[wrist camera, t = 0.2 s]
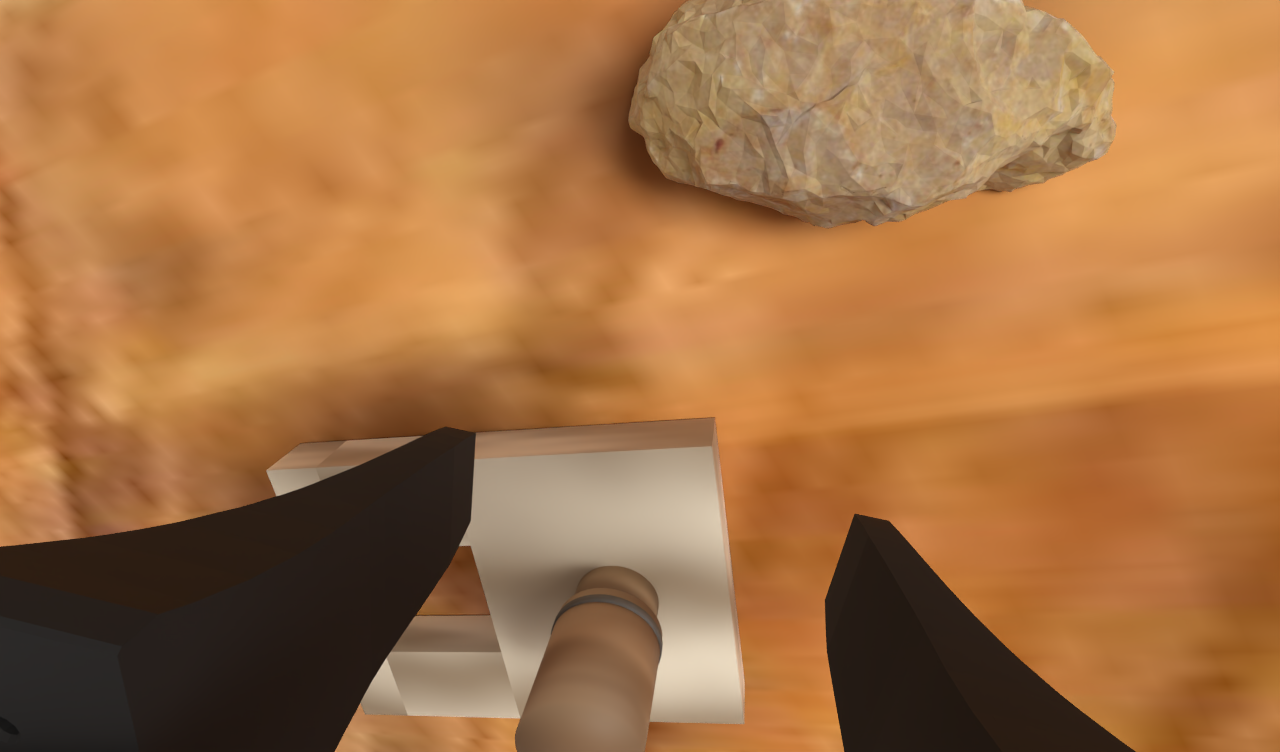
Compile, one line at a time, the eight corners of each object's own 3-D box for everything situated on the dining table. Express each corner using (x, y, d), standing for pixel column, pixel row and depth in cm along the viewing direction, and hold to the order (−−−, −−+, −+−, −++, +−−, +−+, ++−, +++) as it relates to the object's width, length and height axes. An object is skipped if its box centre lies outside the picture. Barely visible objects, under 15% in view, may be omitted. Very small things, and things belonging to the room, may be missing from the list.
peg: (674, 639, 24) (653, 800, 19) (576, 639, 25) (528, 794, 19) (661, 556, 23) (633, 703, 17) (558, 558, 23) (500, 700, 18)
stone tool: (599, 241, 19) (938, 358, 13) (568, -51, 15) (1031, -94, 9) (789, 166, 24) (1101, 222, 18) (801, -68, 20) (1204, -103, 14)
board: (744, 681, 27) (744, 724, 25) (388, 676, 30) (365, 714, 28) (714, 417, 23) (712, 446, 21) (300, 443, 26) (266, 470, 24)
